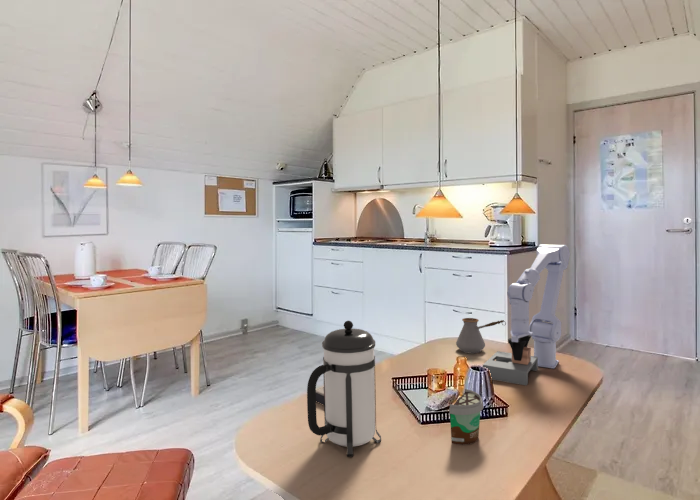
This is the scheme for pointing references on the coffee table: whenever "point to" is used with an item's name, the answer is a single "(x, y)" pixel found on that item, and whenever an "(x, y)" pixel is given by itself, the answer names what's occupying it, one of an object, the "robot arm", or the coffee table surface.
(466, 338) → the coffee pot
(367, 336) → the coffee press
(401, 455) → the coffee table surface
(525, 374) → the keyhole plate
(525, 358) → the peg
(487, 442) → the coffee table surface
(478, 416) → the food container
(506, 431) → the coffee table surface
